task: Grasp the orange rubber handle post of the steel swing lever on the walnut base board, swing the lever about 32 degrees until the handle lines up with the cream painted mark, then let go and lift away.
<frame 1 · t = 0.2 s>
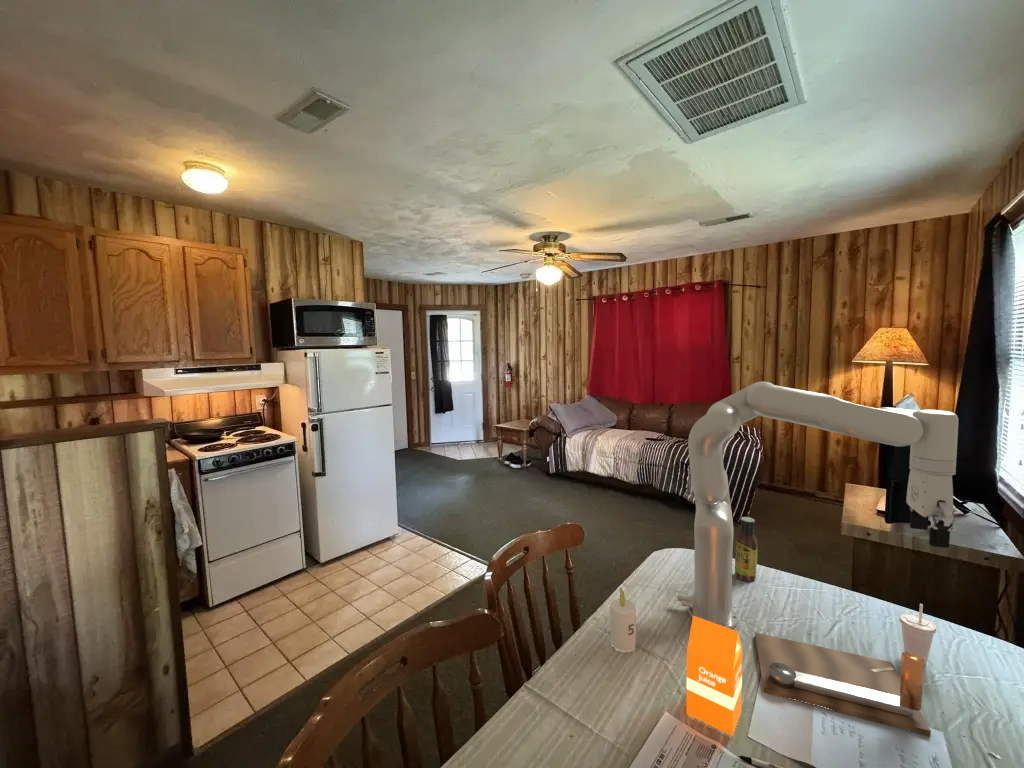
hand: (928, 537, 99), 31 cm above the table, tool pointing down, fingers open, 9 cm apart
lever base: (829, 679, 98), on the table
lever: (841, 668, 91), point 7 cm above the table, hinge at 0.0°
orange juice: (713, 715, 89), on the table
smoothie: (915, 660, 103), on the table
candle: (623, 645, 111), on the table
sauce bottle: (745, 578, 140), on the table
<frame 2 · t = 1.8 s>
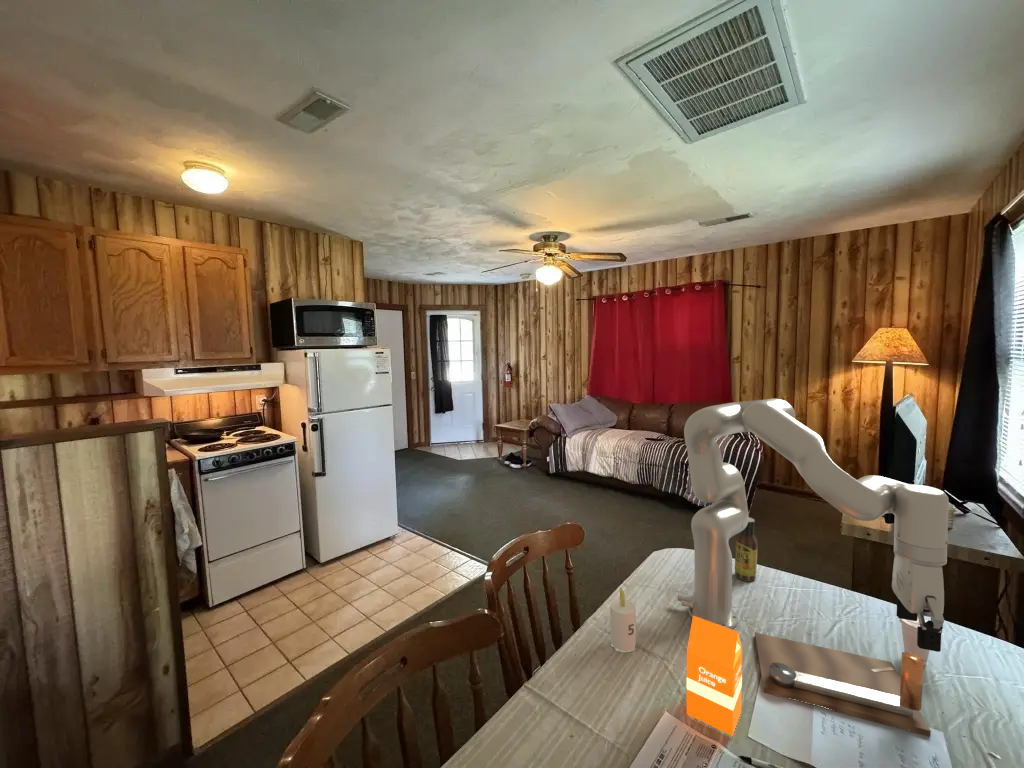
hand: (917, 633, 85), 19 cm above the table, tool pointing down, fingers open, 9 cm apart
nothing on the table moved.
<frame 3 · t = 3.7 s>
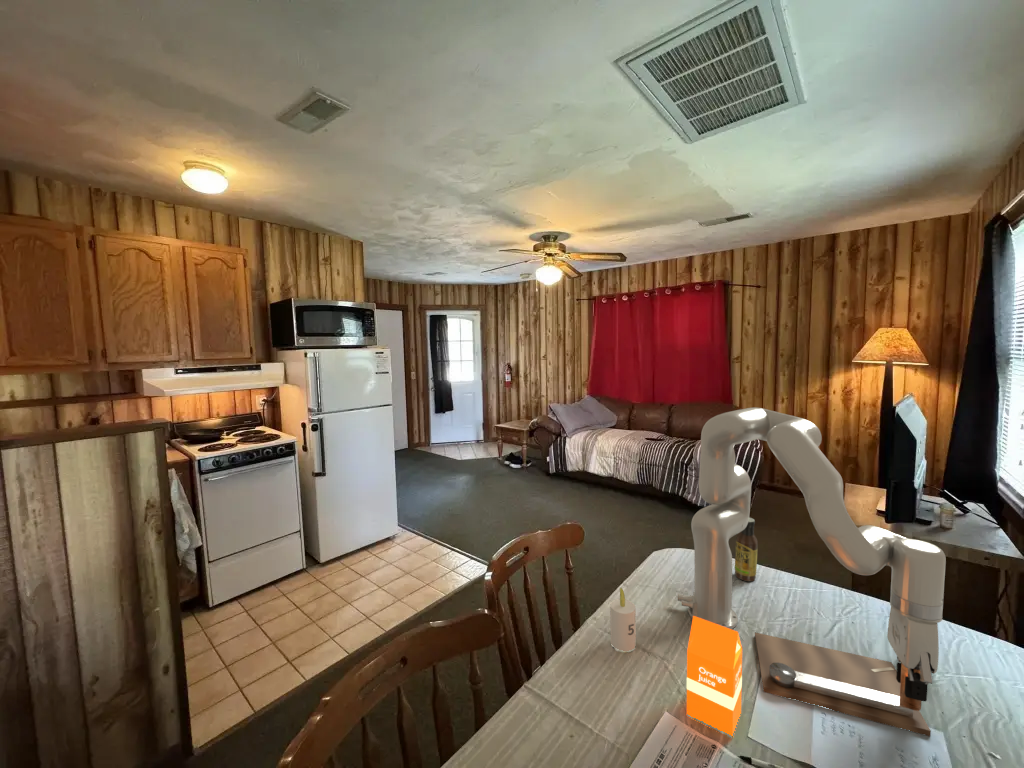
hand: (910, 690, 86), 6 cm above the table, tool pointing down, fingers closed on lever, 3 cm apart
lever: (841, 668, 91), point 7 cm above the table, hinge at 0.0°, touching gripper
everything else where it was.
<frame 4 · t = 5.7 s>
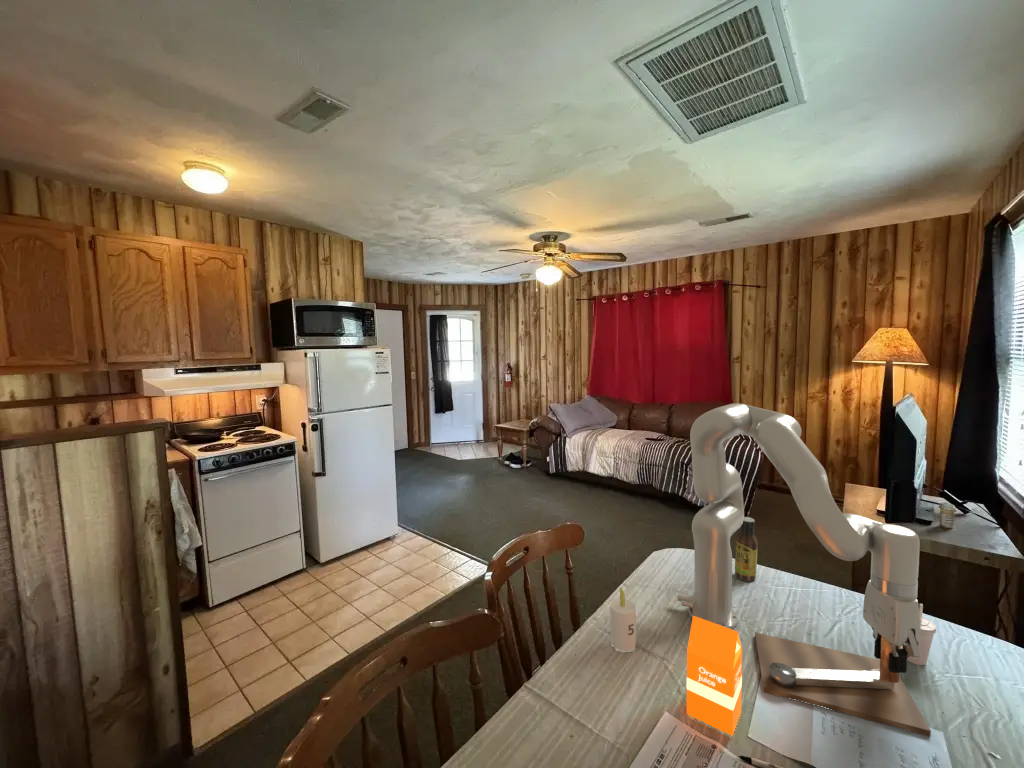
hand: (889, 664, 93), 6 cm above the table, tool pointing down, fingers closed on lever, 3 cm apart
lever: (833, 656, 94), point 7 cm above the table, hinge at 19.0°, touching gripper
everything else where it was.
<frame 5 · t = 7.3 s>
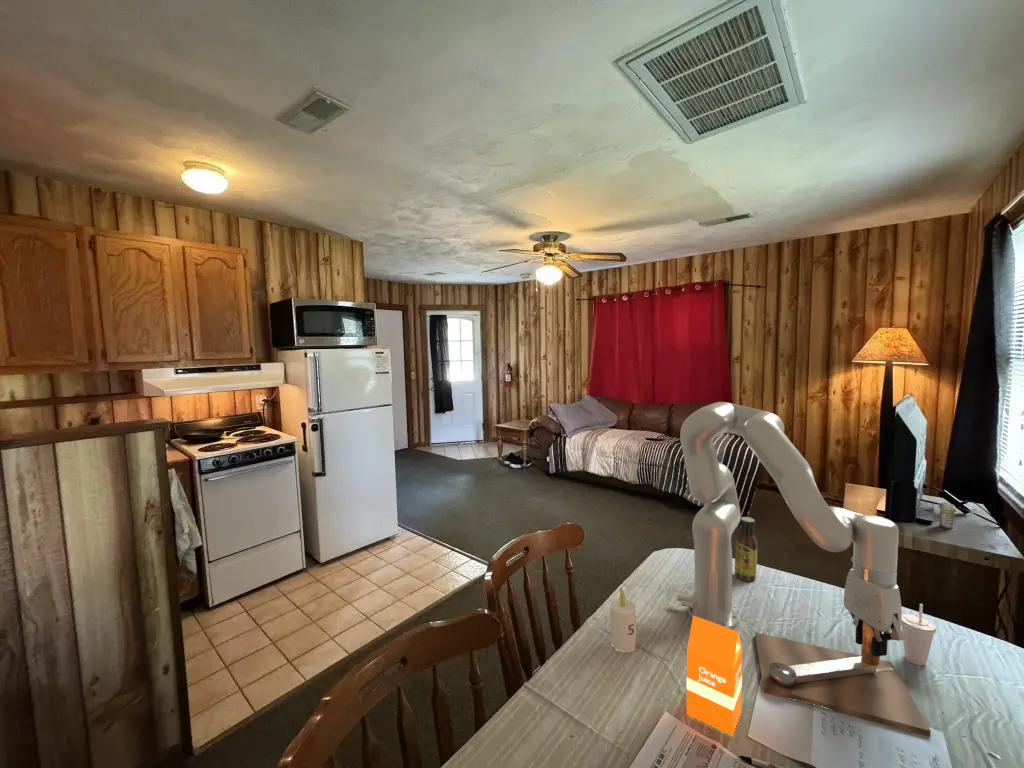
hand: (870, 648, 98), 6 cm above the table, tool pointing down, fingers closed on lever, 3 cm apart
lever: (825, 649, 97), point 7 cm above the table, hinge at 31.8°, touching gripper
everything else where it was.
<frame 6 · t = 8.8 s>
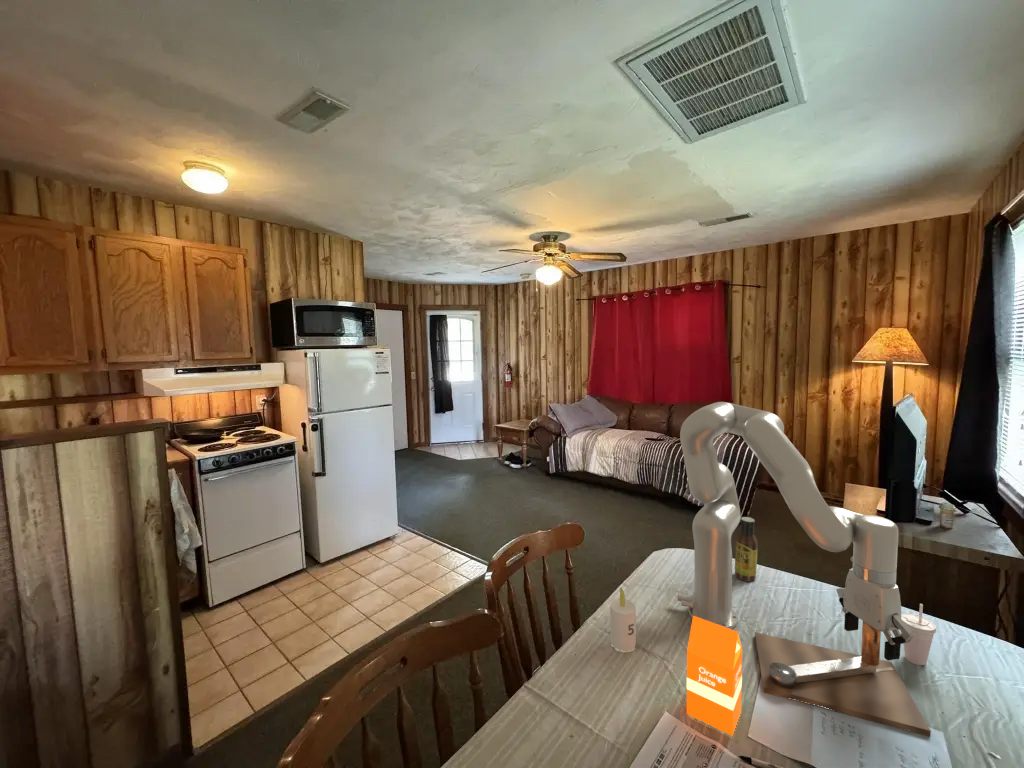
hand: (870, 643, 98), 7 cm above the table, tool pointing down, fingers open, 9 cm apart
lever: (825, 649, 97), point 7 cm above the table, hinge at 31.8°
everything else where it was.
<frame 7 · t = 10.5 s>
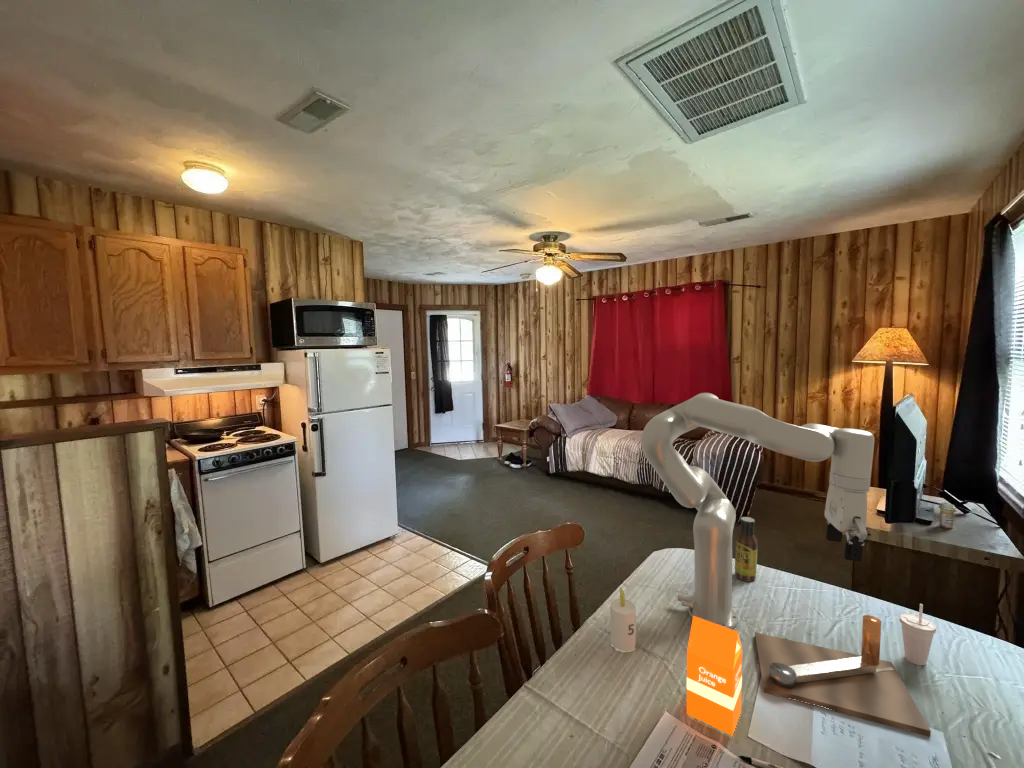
hand: (842, 550, 103), 26 cm above the table, tool pointing down, fingers open, 9 cm apart
nothing on the table moved.
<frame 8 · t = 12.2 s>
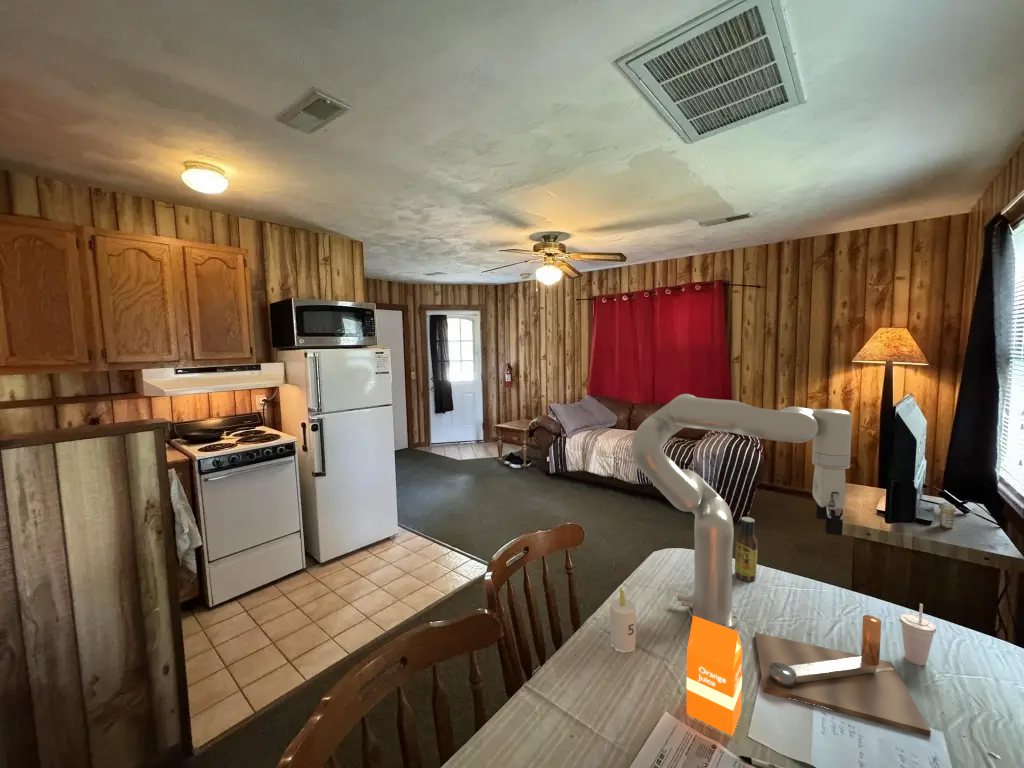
hand: (828, 526, 107), 30 cm above the table, tool pointing down, fingers open, 9 cm apart
nothing on the table moved.
at the end: lever at +32° (first picture: +0°); the gripper is holding nothing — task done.
